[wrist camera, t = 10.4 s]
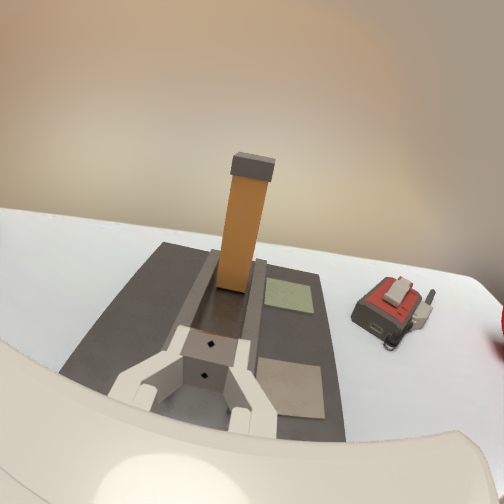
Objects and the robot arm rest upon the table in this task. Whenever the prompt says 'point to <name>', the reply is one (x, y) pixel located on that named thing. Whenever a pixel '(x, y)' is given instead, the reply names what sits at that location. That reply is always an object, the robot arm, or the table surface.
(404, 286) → the walkie-talkie
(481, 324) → the table surface
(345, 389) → the table surface
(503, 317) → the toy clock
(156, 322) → the grey metal board
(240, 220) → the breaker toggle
